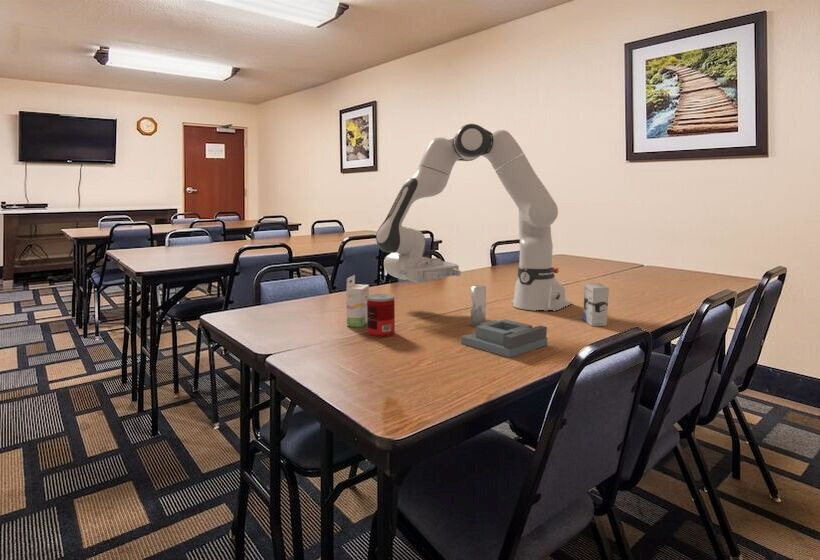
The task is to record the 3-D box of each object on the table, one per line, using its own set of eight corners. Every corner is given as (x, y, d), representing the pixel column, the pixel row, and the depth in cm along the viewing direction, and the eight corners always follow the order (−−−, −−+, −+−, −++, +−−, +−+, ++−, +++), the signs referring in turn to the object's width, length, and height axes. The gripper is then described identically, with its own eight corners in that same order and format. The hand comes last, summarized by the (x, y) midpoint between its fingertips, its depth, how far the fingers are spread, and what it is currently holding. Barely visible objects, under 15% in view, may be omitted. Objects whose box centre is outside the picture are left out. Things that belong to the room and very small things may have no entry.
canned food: (398, 331, 149) (398, 294, 147) (388, 338, 142) (388, 299, 140) (374, 329, 152) (373, 293, 150) (363, 336, 144) (362, 298, 142)
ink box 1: (362, 327, 154) (361, 279, 151) (346, 326, 155) (345, 278, 152) (370, 320, 162) (369, 274, 160) (355, 320, 163) (354, 274, 161)
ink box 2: (582, 319, 162) (584, 283, 160) (597, 319, 162) (599, 283, 160) (590, 326, 154) (592, 287, 152) (607, 326, 154) (609, 287, 152)
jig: (499, 332, 147) (500, 315, 146) (547, 345, 135) (547, 326, 134) (461, 343, 137) (461, 325, 136) (509, 357, 125) (509, 337, 124)
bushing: (477, 322, 159) (478, 284, 157) (488, 325, 156) (489, 286, 154) (467, 325, 156) (468, 286, 154) (478, 327, 153) (479, 288, 151)
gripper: (396, 262, 166) (424, 267, 155) (441, 258, 179) (470, 262, 168) (395, 281, 167) (424, 288, 156) (440, 276, 180) (470, 281, 170)
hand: (448, 274), depth 163 cm, fingers open, 8 cm apart
